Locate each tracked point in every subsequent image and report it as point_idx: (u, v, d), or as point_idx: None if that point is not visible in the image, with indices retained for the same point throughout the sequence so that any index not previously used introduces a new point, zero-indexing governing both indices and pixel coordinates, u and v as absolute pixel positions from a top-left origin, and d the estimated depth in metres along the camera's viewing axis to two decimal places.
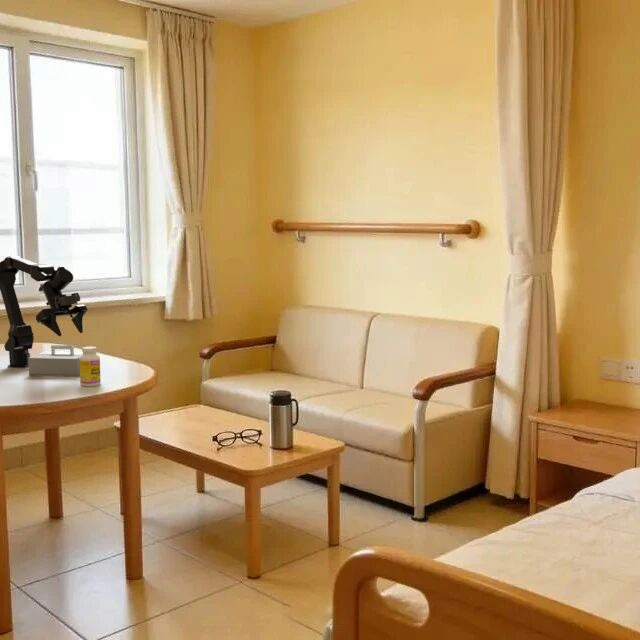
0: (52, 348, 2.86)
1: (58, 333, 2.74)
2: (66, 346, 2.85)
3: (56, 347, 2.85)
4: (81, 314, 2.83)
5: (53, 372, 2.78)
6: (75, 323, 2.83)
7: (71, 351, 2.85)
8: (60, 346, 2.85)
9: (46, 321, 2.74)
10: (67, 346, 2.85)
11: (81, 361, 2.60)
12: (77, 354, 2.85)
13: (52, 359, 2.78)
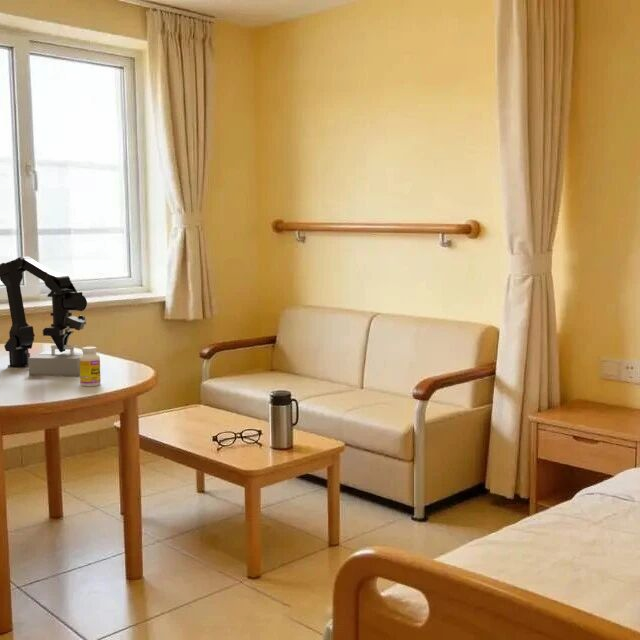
0: (52, 348, 2.86)
1: (61, 349, 2.85)
2: (66, 346, 2.85)
3: (56, 347, 2.85)
4: (70, 334, 2.87)
5: (53, 372, 2.78)
6: None
7: (71, 351, 2.85)
8: None
9: (56, 335, 2.82)
10: (67, 346, 2.85)
11: (81, 361, 2.60)
12: (77, 354, 2.85)
13: (52, 359, 2.78)
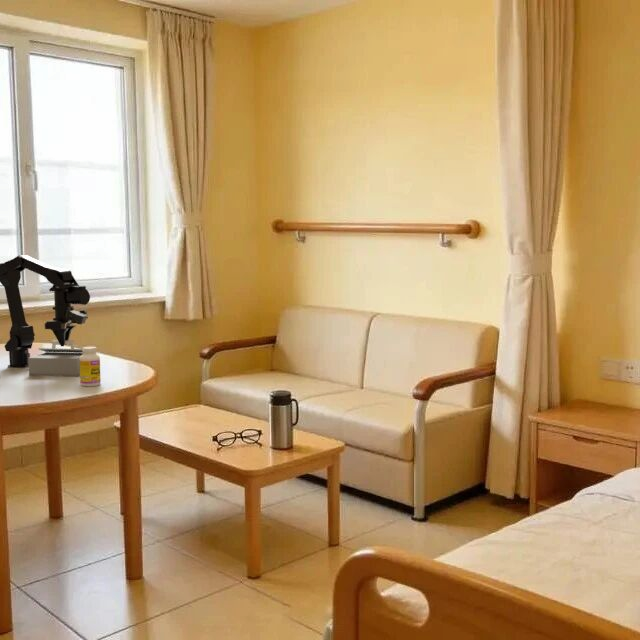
0: (53, 343, 2.86)
1: (62, 343, 2.86)
2: (67, 341, 2.86)
3: (57, 342, 2.86)
4: (72, 328, 2.89)
5: (53, 372, 2.78)
6: None
7: (72, 346, 2.86)
8: None
9: (57, 329, 2.83)
10: (68, 341, 2.86)
11: (81, 361, 2.60)
12: (77, 349, 2.85)
13: (52, 359, 2.78)
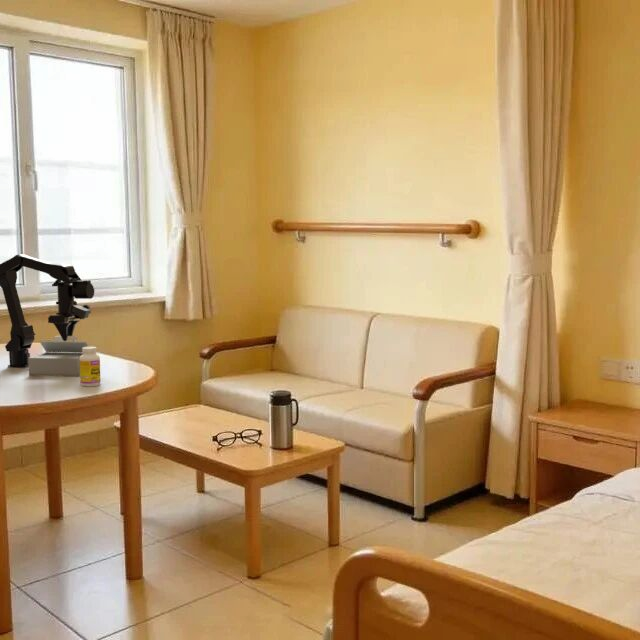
0: (56, 337, 2.89)
1: (64, 338, 2.88)
2: (70, 336, 2.89)
3: (60, 336, 2.89)
4: (76, 323, 2.93)
5: (53, 372, 2.78)
6: None
7: (74, 340, 2.87)
8: None
9: None
10: (71, 336, 2.89)
11: (81, 361, 2.60)
12: None
13: (52, 359, 2.78)
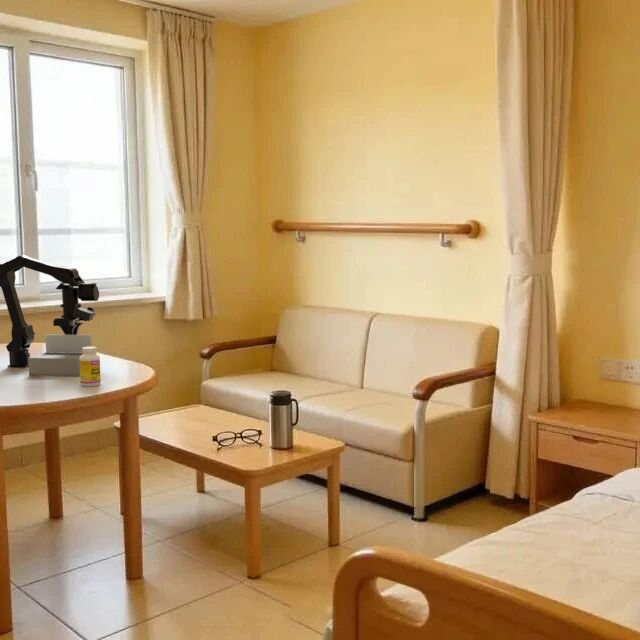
0: None
1: None
2: None
3: None
4: (80, 325, 2.96)
5: (53, 372, 2.78)
6: None
7: None
8: None
9: (65, 326, 2.90)
10: None
11: (81, 361, 2.60)
12: None
13: (52, 359, 2.78)
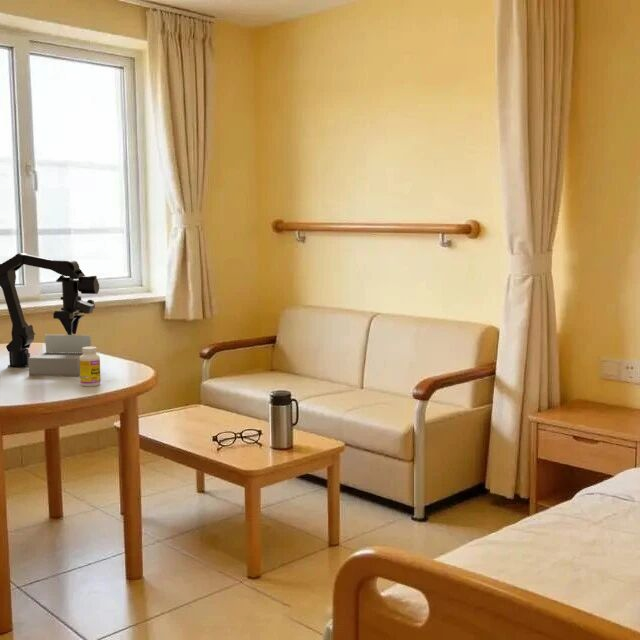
0: None
1: (69, 333, 2.92)
2: None
3: None
4: (81, 317, 2.97)
5: (53, 372, 2.78)
6: None
7: None
8: None
9: (64, 319, 2.89)
10: None
11: (81, 361, 2.60)
12: None
13: (52, 359, 2.78)
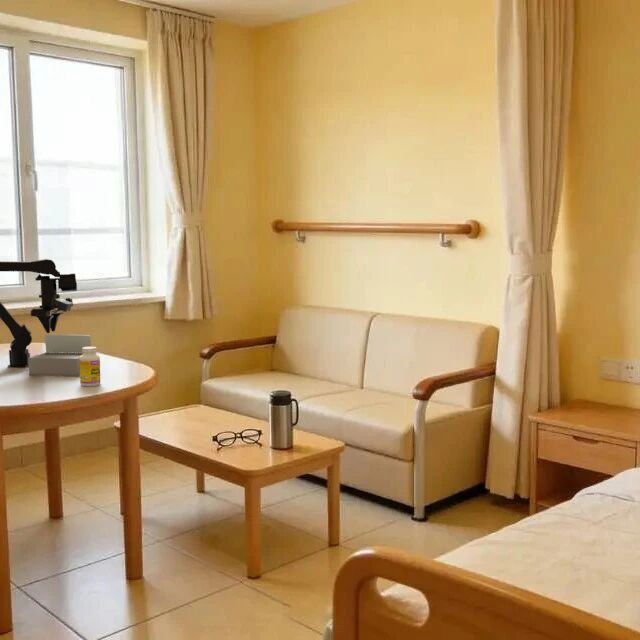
0: None
1: (47, 330, 2.97)
2: None
3: None
4: (59, 315, 3.02)
5: (53, 372, 2.78)
6: None
7: None
8: None
9: (42, 317, 2.95)
10: None
11: (81, 361, 2.60)
12: None
13: (52, 359, 2.78)
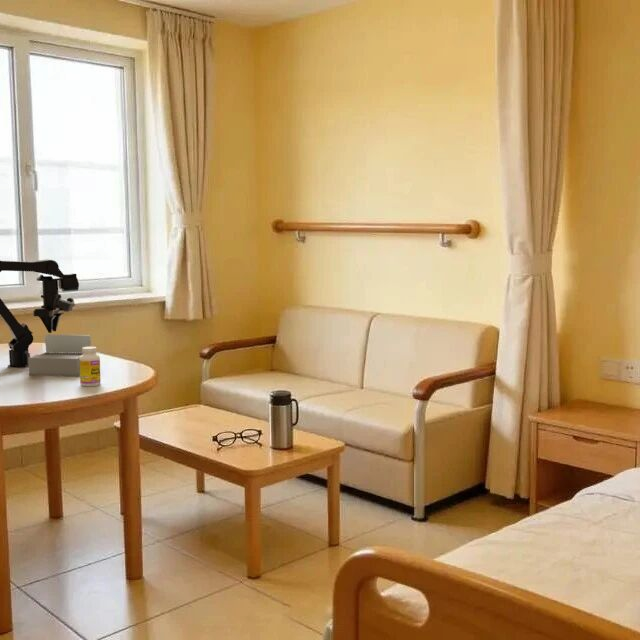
0: None
1: (49, 330, 3.00)
2: None
3: None
4: (61, 315, 3.05)
5: (53, 372, 2.78)
6: None
7: None
8: None
9: (45, 317, 2.97)
10: None
11: (81, 361, 2.60)
12: None
13: (52, 359, 2.78)
